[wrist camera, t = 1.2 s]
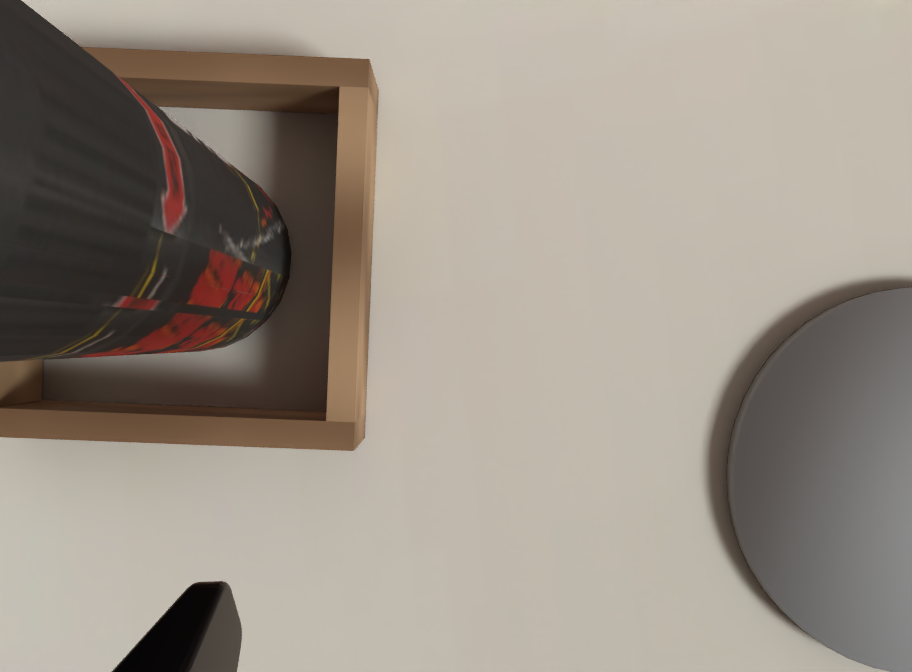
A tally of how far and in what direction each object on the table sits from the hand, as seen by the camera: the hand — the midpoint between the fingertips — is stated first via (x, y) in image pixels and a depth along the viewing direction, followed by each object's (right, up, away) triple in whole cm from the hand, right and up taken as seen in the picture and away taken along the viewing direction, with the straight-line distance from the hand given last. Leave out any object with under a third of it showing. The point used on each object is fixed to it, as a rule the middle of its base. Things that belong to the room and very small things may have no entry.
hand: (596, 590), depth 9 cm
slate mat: (+13, -1, +14) cm, 19 cm away
